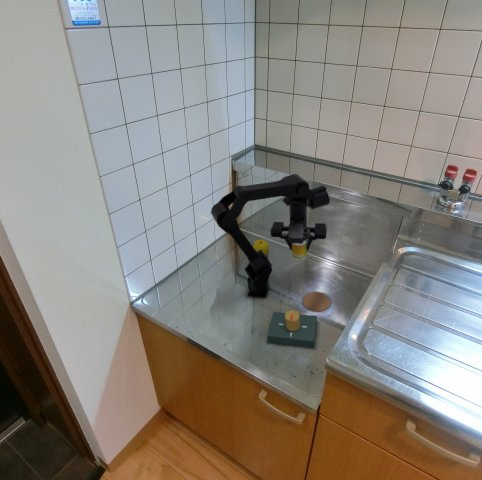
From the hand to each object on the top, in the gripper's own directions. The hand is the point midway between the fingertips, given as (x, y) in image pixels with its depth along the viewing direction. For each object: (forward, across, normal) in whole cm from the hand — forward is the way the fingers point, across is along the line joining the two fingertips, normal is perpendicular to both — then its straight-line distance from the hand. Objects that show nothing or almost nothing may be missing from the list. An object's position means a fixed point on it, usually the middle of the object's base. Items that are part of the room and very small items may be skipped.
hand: (299, 249), depth 131 cm
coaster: (+12, +7, -13) cm, 19 cm away
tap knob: (+9, +1, -27) cm, 28 cm away
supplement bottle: (+3, 0, 0) cm, 3 cm away
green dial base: (+12, +1, -27) cm, 29 cm away
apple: (+13, -17, +11) cm, 24 cm away
